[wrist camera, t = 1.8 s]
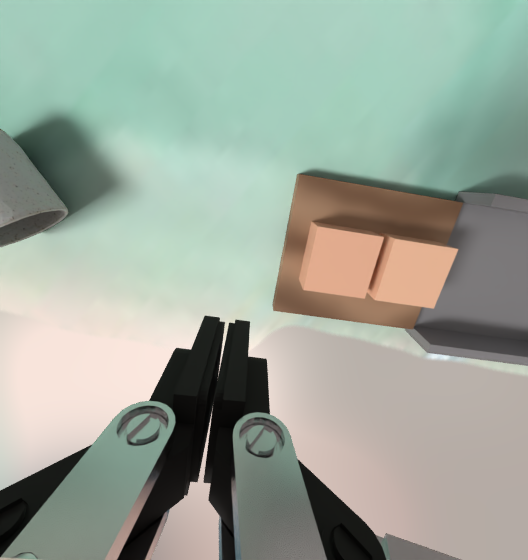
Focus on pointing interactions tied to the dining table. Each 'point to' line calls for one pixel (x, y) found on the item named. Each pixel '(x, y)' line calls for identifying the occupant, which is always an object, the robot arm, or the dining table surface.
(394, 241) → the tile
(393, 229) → the board
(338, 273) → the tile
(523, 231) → the tray
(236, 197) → the dining table surface
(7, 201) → the ceramic mug
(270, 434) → the robot arm
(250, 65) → the dining table surface
